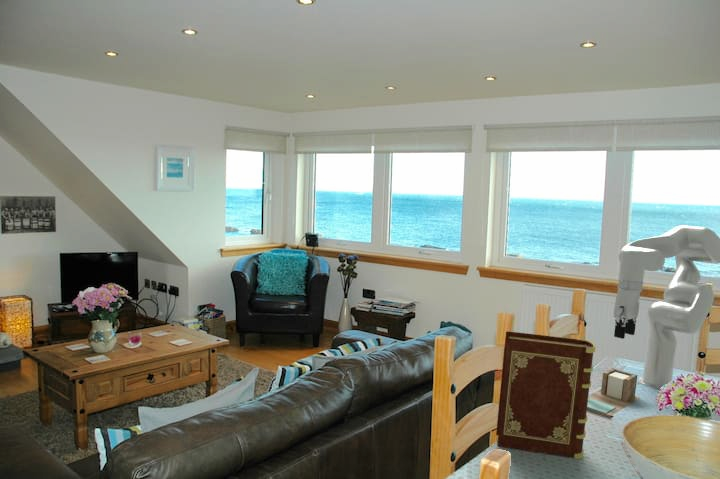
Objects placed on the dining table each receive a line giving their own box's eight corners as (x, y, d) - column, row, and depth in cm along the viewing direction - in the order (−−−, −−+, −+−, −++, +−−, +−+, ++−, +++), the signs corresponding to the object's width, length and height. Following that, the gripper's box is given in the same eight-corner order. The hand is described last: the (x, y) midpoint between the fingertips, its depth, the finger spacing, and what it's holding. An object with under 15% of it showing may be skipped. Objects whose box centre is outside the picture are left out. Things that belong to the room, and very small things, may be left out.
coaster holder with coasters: (604, 389, 198) (607, 366, 197) (640, 400, 189) (642, 376, 188) (573, 405, 180) (575, 380, 180) (610, 418, 172) (613, 392, 171)
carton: (613, 391, 194) (615, 371, 193) (628, 395, 190) (630, 376, 190) (606, 394, 190) (608, 375, 189) (621, 399, 186) (623, 379, 186)
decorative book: (579, 446, 151) (591, 340, 148) (585, 460, 143) (598, 348, 140) (496, 434, 155) (505, 330, 152) (497, 447, 148) (507, 338, 144)
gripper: (628, 281, 195) (622, 329, 197) (608, 285, 183) (602, 336, 185) (651, 285, 190) (645, 335, 191) (631, 289, 178) (625, 342, 179)
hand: (624, 335), depth 188 cm, fingers open, 8 cm apart
